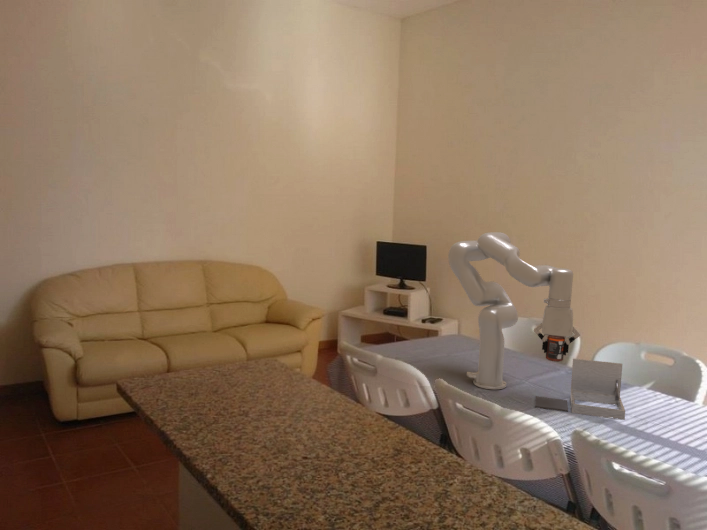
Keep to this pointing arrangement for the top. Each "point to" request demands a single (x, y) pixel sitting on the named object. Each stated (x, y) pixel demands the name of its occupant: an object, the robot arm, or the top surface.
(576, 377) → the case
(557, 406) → the mat
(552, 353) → the supplement bottle
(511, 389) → the top surface
